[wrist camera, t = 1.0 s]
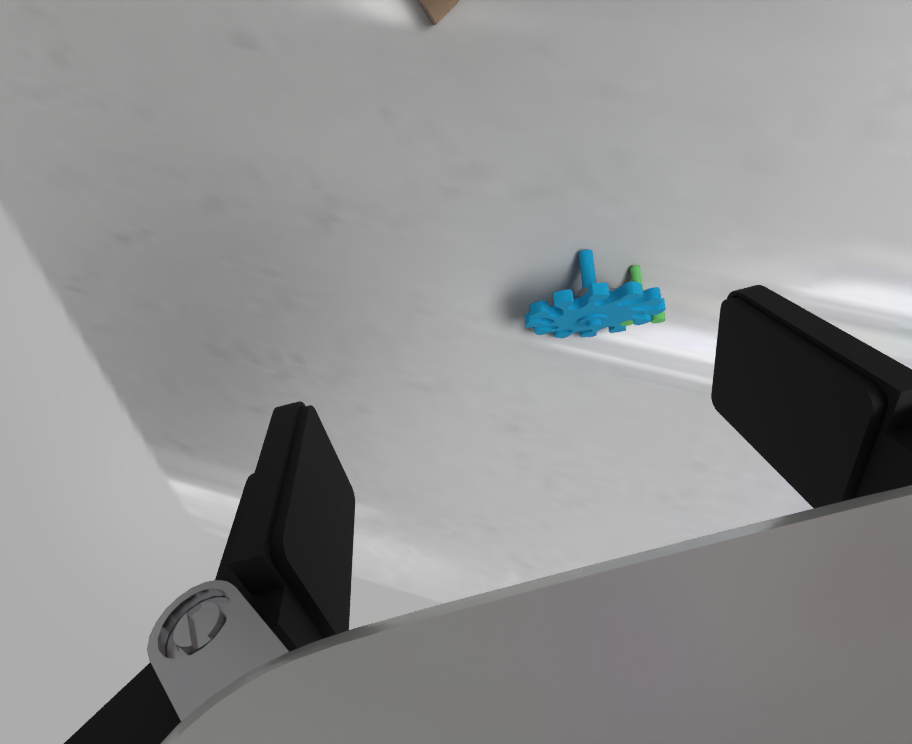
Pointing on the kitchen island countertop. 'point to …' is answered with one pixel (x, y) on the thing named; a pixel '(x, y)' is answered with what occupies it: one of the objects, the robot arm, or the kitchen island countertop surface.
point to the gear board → (437, 8)
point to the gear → (597, 305)
